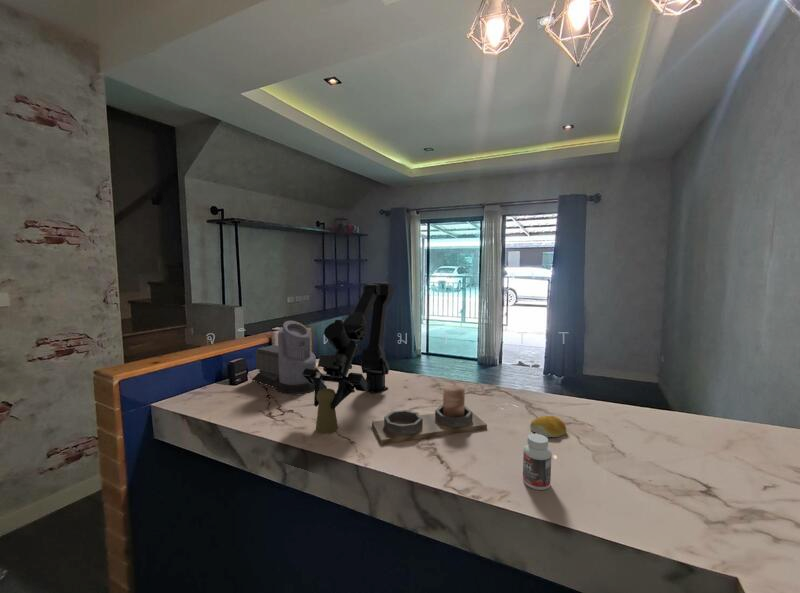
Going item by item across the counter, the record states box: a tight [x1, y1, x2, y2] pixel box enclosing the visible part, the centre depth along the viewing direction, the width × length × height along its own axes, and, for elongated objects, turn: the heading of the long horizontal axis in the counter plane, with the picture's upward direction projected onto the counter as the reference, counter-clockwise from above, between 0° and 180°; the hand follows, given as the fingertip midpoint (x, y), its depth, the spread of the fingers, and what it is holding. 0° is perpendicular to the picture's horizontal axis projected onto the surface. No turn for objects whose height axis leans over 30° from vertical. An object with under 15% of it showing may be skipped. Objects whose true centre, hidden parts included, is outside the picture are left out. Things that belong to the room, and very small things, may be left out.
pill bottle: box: [522, 433, 552, 491], centre depth 74 cm, size 5×5×10 cm
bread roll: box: [529, 415, 567, 438], centre depth 98 cm, size 8×9×4 cm
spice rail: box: [371, 384, 488, 445], centre depth 100 cm, size 30×11×10 cm, turn 107°
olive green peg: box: [315, 388, 339, 435], centre depth 99 cm, size 6×6×11 cm
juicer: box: [251, 320, 317, 396], centre depth 136 cm, size 30×16×24 cm, turn 56°
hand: (323, 407), depth 98 cm, fingers closed on olive green peg, 5 cm apart
